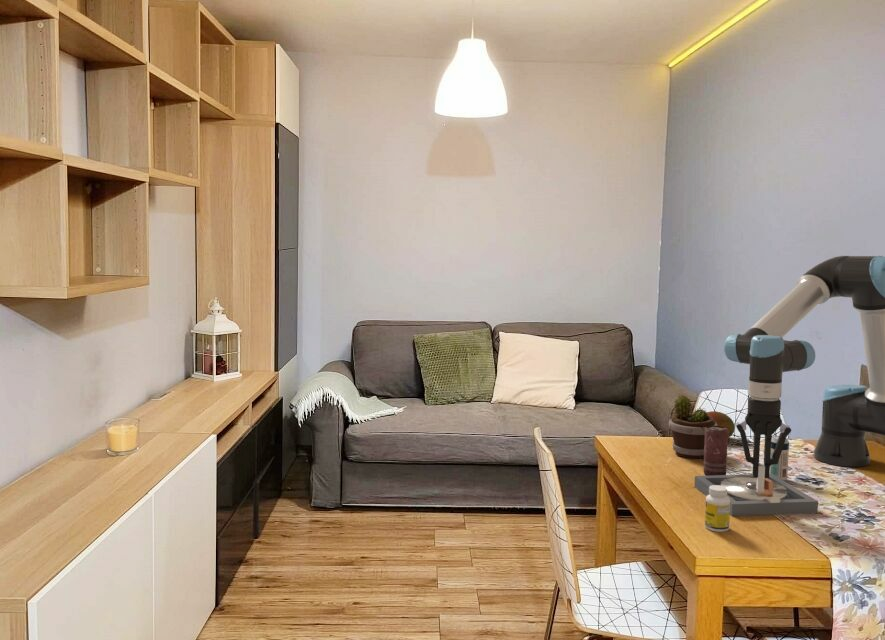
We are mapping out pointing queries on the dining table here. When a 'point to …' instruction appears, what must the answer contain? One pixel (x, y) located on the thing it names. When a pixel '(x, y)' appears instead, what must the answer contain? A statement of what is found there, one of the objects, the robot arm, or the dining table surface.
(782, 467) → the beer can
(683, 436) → the flowerpot
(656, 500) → the dining table surface
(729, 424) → the fruit
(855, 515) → the dining table surface
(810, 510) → the dial plate
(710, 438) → the can
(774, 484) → the dial
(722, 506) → the supplement bottle
